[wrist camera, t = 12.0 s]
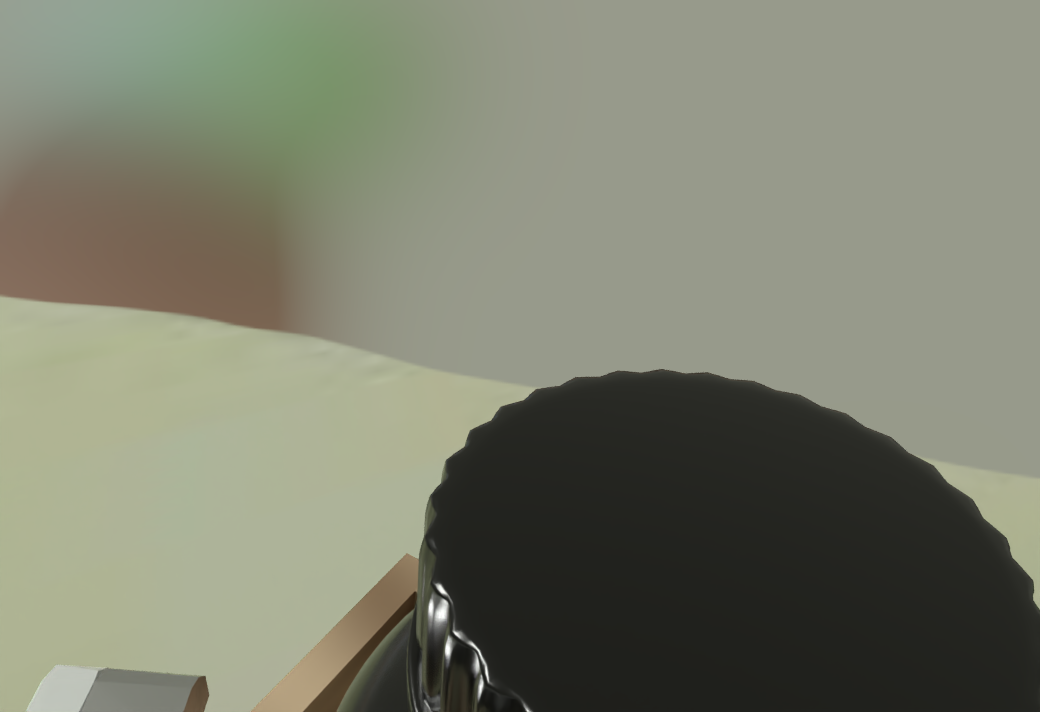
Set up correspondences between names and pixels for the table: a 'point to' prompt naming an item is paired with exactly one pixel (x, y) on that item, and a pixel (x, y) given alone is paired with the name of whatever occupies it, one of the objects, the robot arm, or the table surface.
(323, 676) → the footed wooden tray
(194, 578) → the table surface
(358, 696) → the supplement bottle
